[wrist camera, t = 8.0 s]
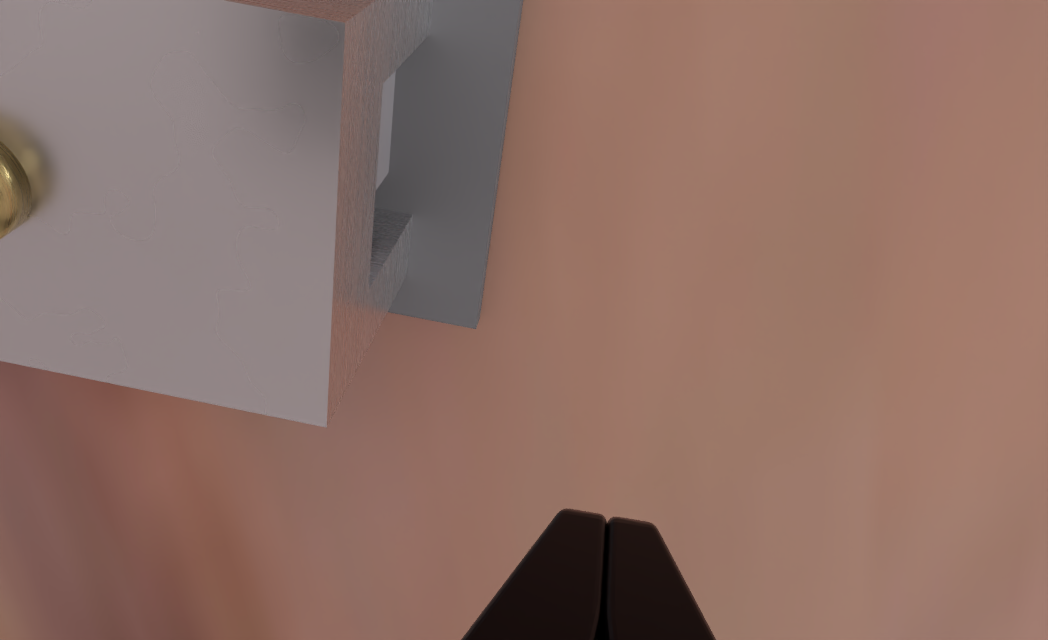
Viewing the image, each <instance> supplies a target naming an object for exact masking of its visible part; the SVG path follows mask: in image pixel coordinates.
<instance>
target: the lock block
mask: <svg viewBox="0 0 1048 640" xmlns="http://www.w3.org/2000/svg"><path fill="white" fill-rule="evenodd" d="M432 3H433V0H0V361H4V362H9V363H14V364H19V365H23V366H28V367H33V368H38V369H43V370H48V371H53V372H58V373H63V374H67V375H72V376H77V377H82V378H87V379H92V380H97V381H102V382H107V383H111V384H116V385H121V386H126V387H131V388H136V389H141V390H146V391H151V392H155V393H160V394H165V395H170V396H175V397H180V398H185V399H190V400H195V401H199V402H204V403H209V404H214V405H219V406H224V407H229V408H234V409H238V410H243V411H248V412H253V413H258V414H263V415H268V416H273V417H278V418H282V419H287V420H292V421H297V422H302V423H307V424H312V425H317V426H322V427H326V428H327V426H328V424H329V422H330V420H331V418H332V416H333V414H334V412H335V410H336V409H337V407H338V405H339V403H340V401H341V399H342V397H343V395H344V393H345V391H346V390H347V388H348V386H349V384H350V382H351V380H352V378H353V376H354V374H355V372H356V371H357V369H358V367H359V365H360V363H361V361H362V359H363V357H364V355H365V353H366V352H367V350H368V348H369V346H370V344H371V342H372V340H373V338H374V336H375V334H376V333H377V331H378V329H379V327H380V325H381V323H382V321H383V319H384V317H385V315H386V314H387V312H388V310H389V308H390V306H391V304H392V302H393V300H394V298H395V296H396V295H397V293H398V291H399V289H400V287H401V285H402V283H403V281H404V279H405V277H406V276H407V270H408V259H409V249H410V238H411V227H412V217H413V215H412V214H406V213H401V212H396V211H391V210H386V209H381V208H376V207H374V206H375V192H376V178H377V163H378V149H379V135H380V120H381V106H382V91H383V83H384V82H385V81H386V80H387V79H388V78H389V77H390V76H391V75H392V74H393V73H394V72H395V71H396V69H397V68H398V67H399V66H400V65H401V64H402V63H403V62H404V61H405V60H406V59H407V58H408V57H409V56H410V55H411V54H412V52H413V51H414V50H415V49H416V48H417V47H418V46H419V45H420V44H421V43H422V42H423V41H424V40H425V39H426V38H427V36H428V35H429V34H430V24H431V14H432Z"/></svg>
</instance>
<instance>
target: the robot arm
mask: <svg viewBox="0 0 1048 640" xmlns="http://www.w3.org/2000/svg"><path fill="white" fill-rule="evenodd" d="M461 640H716V639H715V637H714V635H713V633H712V631H711V629H710V627H709V626H708V624H707V622H706V620H705V618H704V616H703V614H702V612H701V610H700V608H699V607H698V605H697V603H696V601H695V599H694V597H693V595H692V593H691V591H690V590H689V588H688V586H687V584H686V582H685V580H684V578H683V576H682V574H681V572H680V571H679V569H678V567H677V565H676V563H675V561H674V559H673V557H672V555H671V553H670V552H669V550H668V548H667V546H666V544H665V542H664V540H663V538H662V536H661V535H660V533H659V531H658V529H657V528H656V526H655V525H653V524H652V523H650V522H645V521H640V520H634V519H628V518H622V517H612V518H610V520H609V521H608V522H606V519H605V517H604V516H603V515H601V514H598V513H592V512H586V511H580V510H574V509H563V510H561V511H560V512H559V513H558V514H557V515H556V516H555V517H554V519H553V520H552V521H551V523H550V524H549V525H548V526H547V528H546V529H545V530H544V532H543V533H542V534H541V536H540V537H539V538H538V540H537V541H536V542H535V544H534V545H533V546H532V547H531V549H530V550H529V551H528V553H527V554H526V555H525V557H524V558H523V559H522V561H521V562H520V563H519V565H518V566H517V567H516V568H515V570H514V571H513V572H512V574H511V575H510V576H509V578H508V579H507V580H506V582H505V583H504V584H503V586H502V587H501V588H500V589H499V591H498V592H497V593H496V595H495V596H494V597H493V599H492V600H491V601H490V603H489V604H488V605H487V607H486V608H485V609H484V610H483V612H482V613H481V614H480V616H479V617H478V618H477V620H476V621H475V622H474V624H473V625H472V626H471V628H470V629H469V630H468V632H467V633H466V634H465V635H464V637H463V638H462V639H461Z"/></svg>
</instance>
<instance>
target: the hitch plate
mask: <svg viewBox="0 0 1048 640" xmlns="http://www.w3.org/2000/svg"><path fill="white" fill-rule="evenodd" d="M522 4H523V0H433V3H432V14H431V24H430V34H429V35H428V36H427V38H426V39H425V40H424V41H423V42H422V43H421V44H420V45H419V46H418V47H417V48H416V49H415V50H414V51H413V52H412V54H411V55H410V56H409V57H408V58H407V59H406V60H405V61H404V62H403V63H402V64H401V65H400V66H399V67H398V68H397V69H396V71H395V72H394V73H393V74H392V75H391V76H390V77H389V78H388V79H387V80H386V81H385V82H384V83H383V91H382V106H381V120H380V135H379V149H378V163H377V178H376V192H375V206H374V207H376V208H381V209H386V210H391V211H396V212H401V213H406V214H412V215H413V217H412V227H411V238H410V249H409V259H408V270H407V276H406V277H405V279H404V281H403V283H402V285H401V287H400V289H399V291H398V293H397V295H396V296H395V298H394V300H393V302H392V304H391V306H390V308H389V310H388V312H391V313H396V314H401V315H406V316H411V317H416V318H422V319H427V320H432V321H437V322H442V323H448V324H453V325H458V326H463V327H468V328H473V329H476V327H477V325H478V322H479V318H480V311H481V304H482V297H483V289H484V282H485V275H486V267H487V260H488V253H489V245H490V238H491V231H492V224H493V216H494V209H495V202H496V194H497V187H498V180H499V172H500V165H501V158H502V150H503V143H504V136H505V129H506V121H507V114H508V107H509V99H510V92H511V85H512V77H513V70H514V63H515V56H516V48H517V41H518V34H519V26H520V19H521V12H522Z"/></svg>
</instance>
